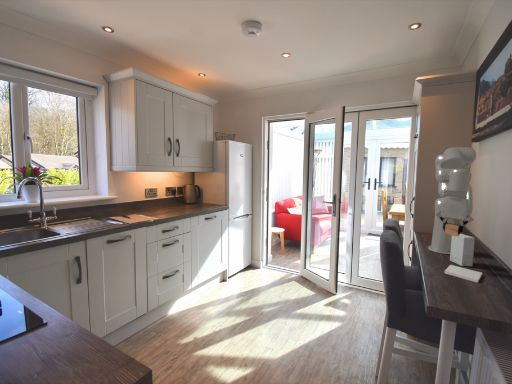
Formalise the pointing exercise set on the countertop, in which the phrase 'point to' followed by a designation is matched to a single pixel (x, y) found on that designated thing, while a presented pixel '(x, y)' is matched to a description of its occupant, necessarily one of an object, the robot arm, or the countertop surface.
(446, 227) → the wooden cube
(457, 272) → the chopping board
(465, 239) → the skincare box
